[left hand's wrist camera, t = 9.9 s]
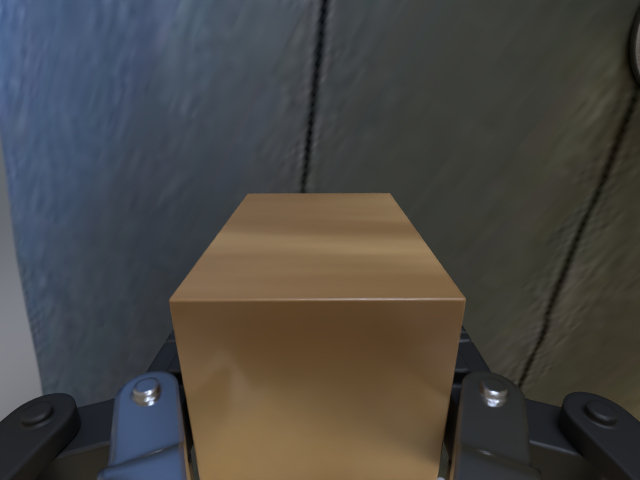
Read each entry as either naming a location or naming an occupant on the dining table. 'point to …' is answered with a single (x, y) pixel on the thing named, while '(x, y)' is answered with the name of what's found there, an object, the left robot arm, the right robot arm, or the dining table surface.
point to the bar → (318, 342)
